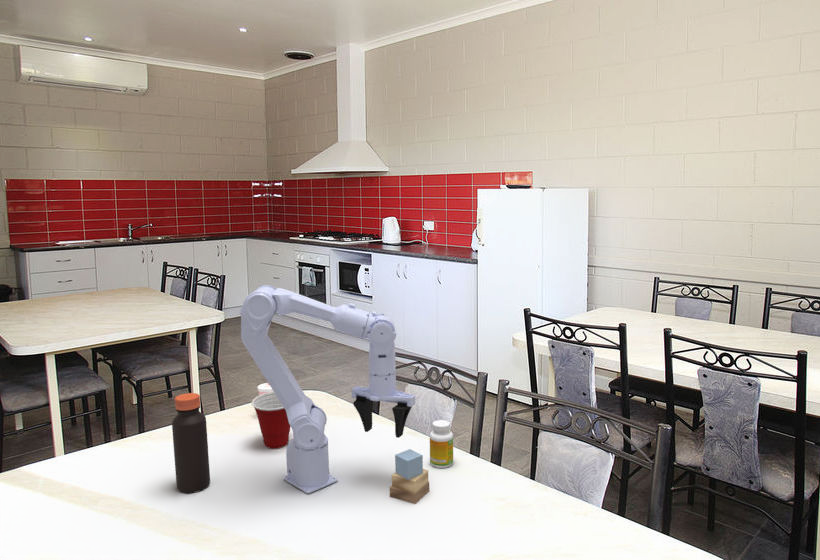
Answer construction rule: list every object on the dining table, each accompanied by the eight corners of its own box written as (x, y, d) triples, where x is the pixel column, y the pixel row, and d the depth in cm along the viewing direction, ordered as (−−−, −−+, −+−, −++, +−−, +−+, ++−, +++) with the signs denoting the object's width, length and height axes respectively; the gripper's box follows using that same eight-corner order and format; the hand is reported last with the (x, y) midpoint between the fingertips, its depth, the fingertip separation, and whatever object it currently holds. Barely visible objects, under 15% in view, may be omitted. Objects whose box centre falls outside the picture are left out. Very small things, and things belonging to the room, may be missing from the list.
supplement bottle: (451, 469, 132) (451, 428, 130) (428, 467, 133) (427, 426, 131) (454, 459, 137) (454, 419, 135) (431, 457, 138) (431, 418, 137)
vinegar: (197, 475, 131) (191, 389, 128) (216, 483, 127) (211, 395, 124) (170, 488, 125) (163, 398, 122) (189, 497, 121) (182, 404, 118)
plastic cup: (248, 453, 142) (245, 406, 140) (261, 435, 152) (259, 391, 151) (292, 453, 141) (290, 406, 139) (302, 435, 152) (300, 391, 150)
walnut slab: (389, 498, 120) (389, 487, 120) (404, 486, 125) (404, 475, 125) (415, 506, 117) (414, 494, 117) (429, 492, 122) (429, 481, 122)
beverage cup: (255, 419, 163) (252, 371, 161) (264, 412, 169) (261, 365, 167) (276, 421, 162) (273, 372, 160) (284, 413, 168) (282, 365, 166)
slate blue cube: (395, 473, 121) (395, 454, 120) (410, 467, 123) (409, 449, 123) (408, 480, 118) (407, 461, 117) (422, 473, 120) (422, 455, 120)
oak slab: (392, 486, 120) (391, 475, 120) (406, 475, 125) (405, 464, 124) (414, 493, 117) (414, 481, 117) (428, 481, 122) (428, 470, 122)
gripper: (343, 373, 124) (345, 434, 126) (404, 381, 118) (405, 445, 120) (360, 364, 130) (361, 422, 132) (419, 372, 124) (420, 433, 126)
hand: (383, 433), depth 126 cm, fingers open, 7 cm apart
